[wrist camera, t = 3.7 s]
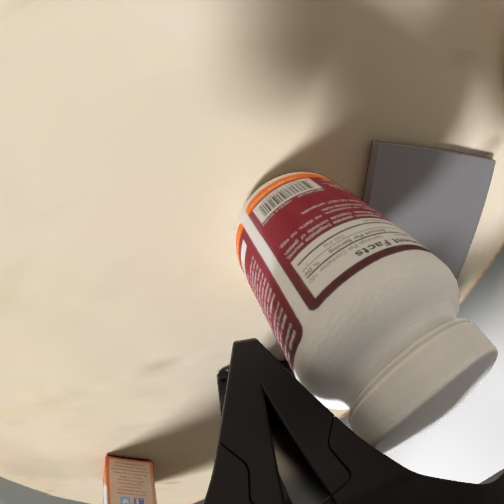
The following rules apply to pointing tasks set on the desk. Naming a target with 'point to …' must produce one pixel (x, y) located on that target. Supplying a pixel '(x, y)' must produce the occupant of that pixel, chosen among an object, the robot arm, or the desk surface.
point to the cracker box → (128, 481)
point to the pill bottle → (359, 308)
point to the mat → (430, 195)
